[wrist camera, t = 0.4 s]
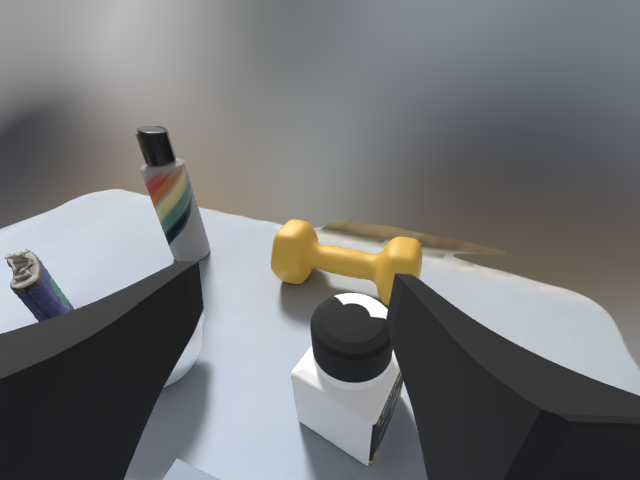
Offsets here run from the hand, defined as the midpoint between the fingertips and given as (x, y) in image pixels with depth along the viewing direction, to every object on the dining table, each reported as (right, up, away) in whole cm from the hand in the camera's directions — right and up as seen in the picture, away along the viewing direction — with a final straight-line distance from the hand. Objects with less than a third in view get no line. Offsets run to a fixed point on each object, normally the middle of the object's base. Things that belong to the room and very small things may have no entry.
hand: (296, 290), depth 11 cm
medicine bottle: (+4, -14, +17) cm, 22 cm away
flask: (-31, -9, +27) cm, 42 cm away
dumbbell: (+4, -5, +31) cm, 32 cm away
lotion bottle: (-20, -1, +39) cm, 43 cm away
